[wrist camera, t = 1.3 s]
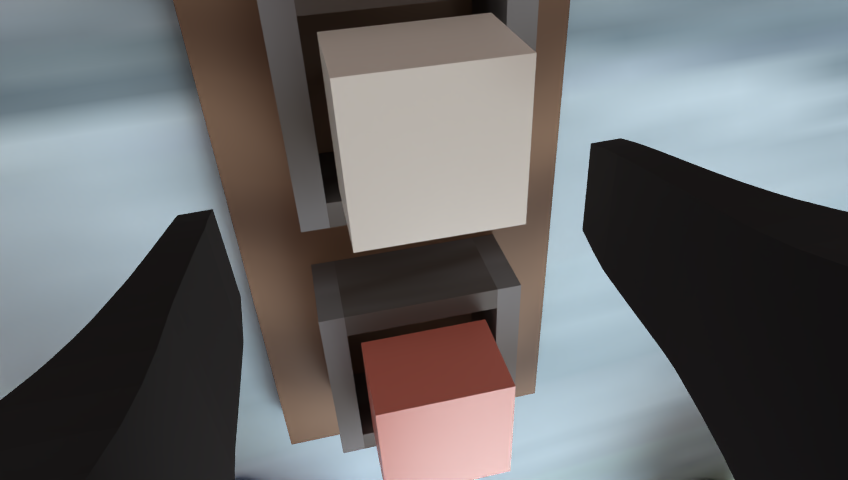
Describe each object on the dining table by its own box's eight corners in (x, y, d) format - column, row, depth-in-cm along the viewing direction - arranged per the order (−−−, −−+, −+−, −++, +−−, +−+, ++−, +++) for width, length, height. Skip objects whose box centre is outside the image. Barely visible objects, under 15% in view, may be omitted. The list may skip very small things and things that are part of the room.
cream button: (316, 32, 14) (329, 78, 12) (491, 12, 15) (537, 52, 13) (339, 188, 17) (353, 252, 14) (488, 166, 18) (526, 224, 15)
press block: (138, -169, 15) (103, -159, 12) (563, -194, 17) (647, -192, 13) (289, 417, 28) (295, 507, 24) (523, 369, 30) (560, 447, 26)
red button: (360, 342, 20) (375, 415, 18) (485, 319, 21) (515, 386, 19) (372, 425, 23) (386, 499, 20) (483, 402, 23) (510, 470, 21)
